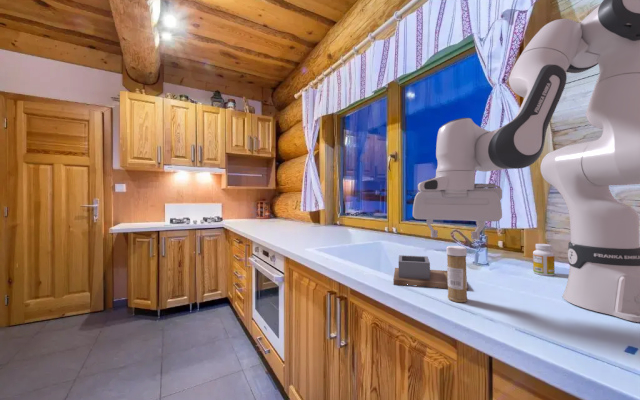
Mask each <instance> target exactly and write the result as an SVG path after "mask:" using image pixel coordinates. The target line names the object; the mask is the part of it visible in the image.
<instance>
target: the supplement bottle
mask: <svg viewBox="0 0 640 400" xmlns="http://www.w3.org/2000/svg"><path fill="white" fill-rule="evenodd" d="M532 259H533V260H532V264H533V266H532V267H533V268H532V269H533V270H532V271H533V272H532V273H534V274H536V275H539V276H545V277H553V276H555V253H554V252H553V251H552V245H551V244H549V243H548V244H547V243H535V250H534V251H532Z"/></svg>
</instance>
